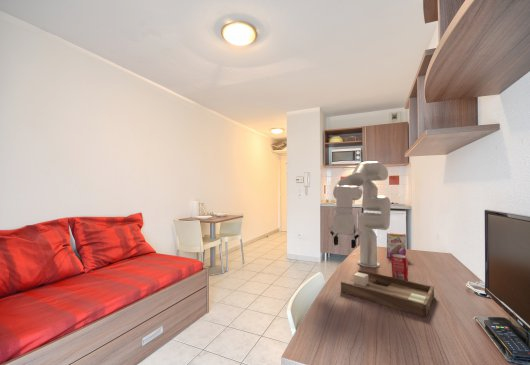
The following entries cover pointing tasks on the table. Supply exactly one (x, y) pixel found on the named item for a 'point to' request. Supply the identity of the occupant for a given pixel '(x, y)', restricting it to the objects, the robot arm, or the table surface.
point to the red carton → (399, 266)
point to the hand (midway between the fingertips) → (344, 246)
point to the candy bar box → (396, 244)
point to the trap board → (393, 293)
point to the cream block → (361, 279)
